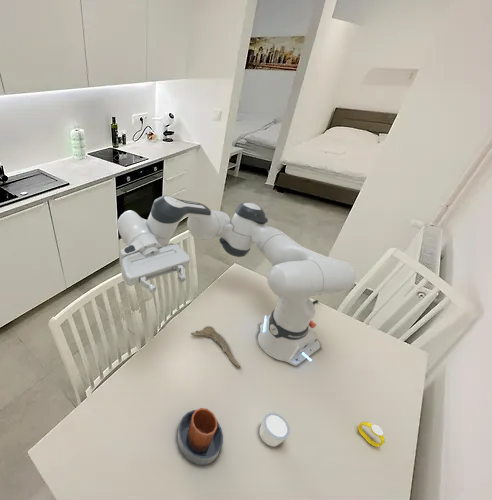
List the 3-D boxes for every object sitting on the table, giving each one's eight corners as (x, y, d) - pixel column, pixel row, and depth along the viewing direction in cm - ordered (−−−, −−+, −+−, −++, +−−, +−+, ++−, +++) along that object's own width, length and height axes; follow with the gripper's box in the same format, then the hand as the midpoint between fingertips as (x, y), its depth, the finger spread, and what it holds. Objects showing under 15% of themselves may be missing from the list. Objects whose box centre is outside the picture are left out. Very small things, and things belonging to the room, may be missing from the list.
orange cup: (202, 423, 84) (208, 404, 77) (214, 447, 79) (222, 429, 72) (183, 432, 82) (187, 413, 75) (193, 456, 77) (199, 439, 70)
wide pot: (205, 412, 87) (208, 403, 84) (227, 455, 78) (231, 447, 75) (170, 426, 84) (172, 418, 80) (189, 473, 75) (191, 466, 71)
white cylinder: (284, 452, 79) (292, 442, 75) (258, 446, 80) (265, 436, 76) (279, 425, 84) (287, 415, 80) (255, 420, 85) (261, 409, 81)
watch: (353, 430, 83) (362, 421, 80) (358, 425, 84) (368, 416, 81) (374, 451, 79) (385, 442, 76) (379, 446, 80) (391, 437, 77)
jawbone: (202, 323, 115) (203, 320, 113) (249, 354, 104) (251, 350, 103) (189, 336, 109) (190, 332, 108) (239, 370, 98) (240, 366, 97)
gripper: (174, 249, 91) (198, 281, 82) (114, 266, 83) (134, 304, 75) (178, 234, 86) (203, 267, 78) (115, 252, 79) (135, 290, 71)
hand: (168, 285), depth 76 cm, fingers open, 8 cm apart
